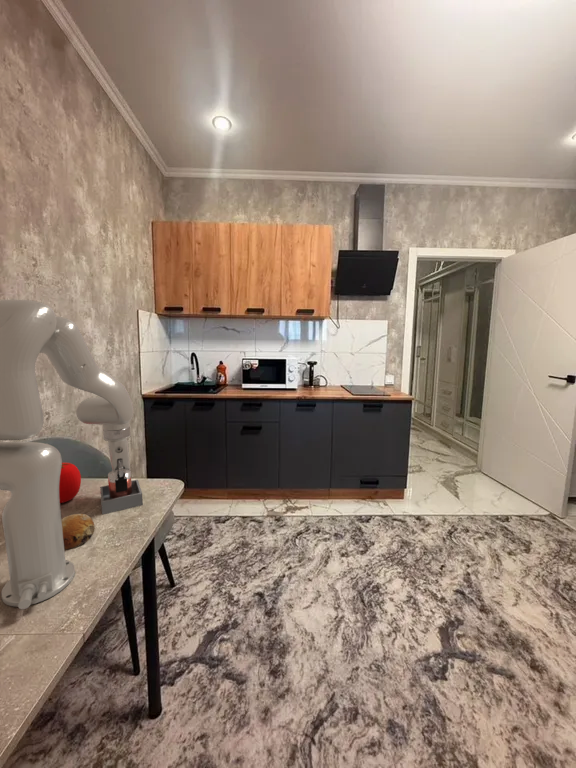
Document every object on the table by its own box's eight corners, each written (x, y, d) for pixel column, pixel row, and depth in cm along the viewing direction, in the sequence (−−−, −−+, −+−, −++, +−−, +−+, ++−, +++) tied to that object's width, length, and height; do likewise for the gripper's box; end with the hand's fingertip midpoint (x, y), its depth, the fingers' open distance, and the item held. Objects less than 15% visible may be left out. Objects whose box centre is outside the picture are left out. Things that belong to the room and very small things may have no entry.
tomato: (67, 510, 100) (63, 471, 98) (29, 509, 100) (24, 470, 98) (91, 491, 112) (88, 455, 110) (57, 490, 112) (54, 455, 110)
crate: (142, 505, 104) (142, 493, 103) (102, 514, 98) (101, 502, 97) (138, 490, 113) (137, 479, 113) (101, 498, 107) (100, 486, 107)
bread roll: (91, 537, 93) (85, 509, 94) (102, 536, 86) (95, 506, 87) (49, 554, 86) (43, 523, 87) (58, 555, 79) (51, 522, 80)
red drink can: (133, 500, 104) (131, 474, 103) (110, 506, 101) (108, 478, 99) (131, 492, 110) (129, 466, 108) (109, 497, 106) (107, 470, 105)
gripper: (133, 439, 97) (136, 493, 99) (127, 424, 111) (130, 472, 114) (104, 443, 93) (108, 499, 95) (102, 427, 107) (105, 476, 110)
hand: (120, 484), depth 105 cm, fingers open, 9 cm apart
